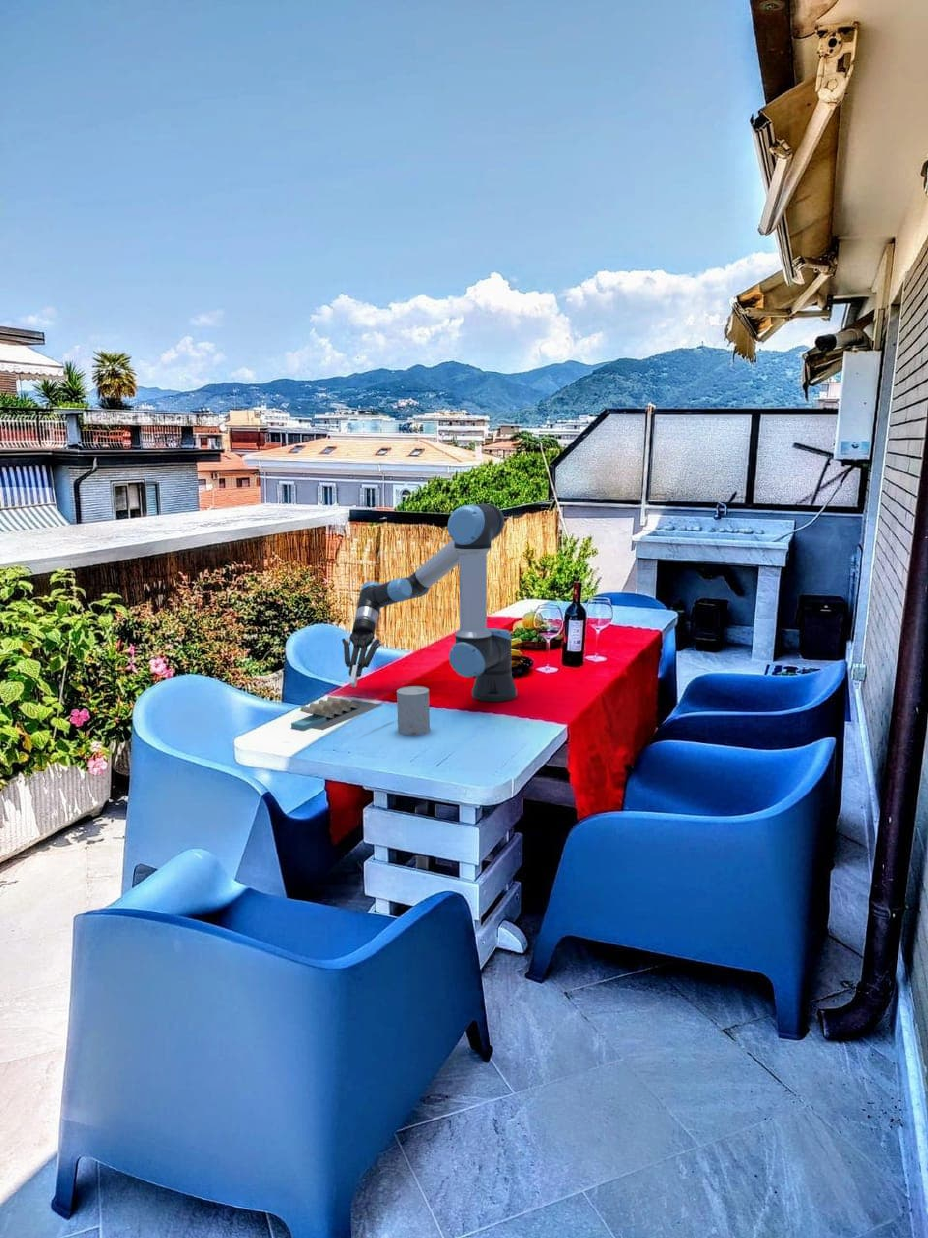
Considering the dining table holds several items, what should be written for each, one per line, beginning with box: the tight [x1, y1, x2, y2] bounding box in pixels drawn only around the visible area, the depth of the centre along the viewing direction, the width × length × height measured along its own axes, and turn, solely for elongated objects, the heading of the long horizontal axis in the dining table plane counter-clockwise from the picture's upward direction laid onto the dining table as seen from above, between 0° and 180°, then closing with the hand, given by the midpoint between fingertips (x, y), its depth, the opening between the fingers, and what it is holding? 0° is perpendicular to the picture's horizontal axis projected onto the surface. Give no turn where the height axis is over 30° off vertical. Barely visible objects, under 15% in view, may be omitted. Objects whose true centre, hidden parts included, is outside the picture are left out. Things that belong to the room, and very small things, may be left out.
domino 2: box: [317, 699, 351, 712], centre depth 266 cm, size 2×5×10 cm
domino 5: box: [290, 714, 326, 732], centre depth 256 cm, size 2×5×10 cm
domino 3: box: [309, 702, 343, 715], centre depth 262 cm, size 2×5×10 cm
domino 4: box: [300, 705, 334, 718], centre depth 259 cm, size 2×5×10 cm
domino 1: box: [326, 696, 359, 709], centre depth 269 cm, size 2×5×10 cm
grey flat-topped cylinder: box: [396, 685, 431, 737], centre depth 251 cm, size 10×10×12 cm
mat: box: [311, 699, 383, 731], centre depth 266 cm, size 30×12×1 cm, turn 149°
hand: (352, 684), depth 271 cm, fingers closed
